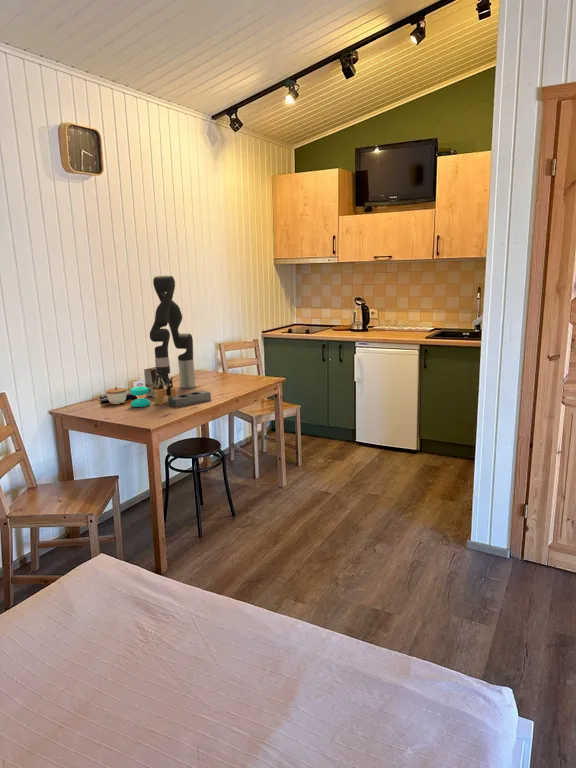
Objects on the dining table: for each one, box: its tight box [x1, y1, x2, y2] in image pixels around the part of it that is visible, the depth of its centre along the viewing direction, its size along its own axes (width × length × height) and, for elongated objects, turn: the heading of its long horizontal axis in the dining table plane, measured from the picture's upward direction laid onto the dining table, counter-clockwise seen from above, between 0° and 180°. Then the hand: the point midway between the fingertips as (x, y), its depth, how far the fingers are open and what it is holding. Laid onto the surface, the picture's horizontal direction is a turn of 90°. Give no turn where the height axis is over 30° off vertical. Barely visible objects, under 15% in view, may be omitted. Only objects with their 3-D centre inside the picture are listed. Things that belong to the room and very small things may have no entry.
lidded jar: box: [105, 386, 127, 405], centre depth 299 cm, size 11×11×9 cm
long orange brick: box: [154, 386, 177, 405], centre depth 297 cm, size 4×11×8 cm, turn 132°
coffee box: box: [143, 366, 165, 398], centre depth 315 cm, size 9×6×16 cm
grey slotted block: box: [167, 389, 212, 409], centre depth 294 cm, size 8×22×4 cm, turn 132°
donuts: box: [129, 385, 151, 408], centre depth 291 cm, size 10×10×10 cm
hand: (165, 394), depth 297 cm, fingers open, 8 cm apart
